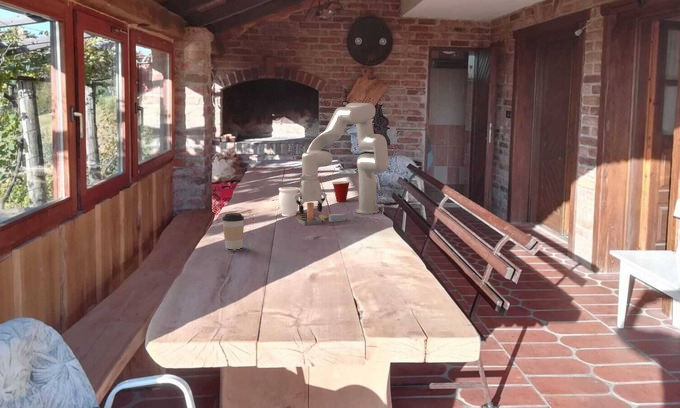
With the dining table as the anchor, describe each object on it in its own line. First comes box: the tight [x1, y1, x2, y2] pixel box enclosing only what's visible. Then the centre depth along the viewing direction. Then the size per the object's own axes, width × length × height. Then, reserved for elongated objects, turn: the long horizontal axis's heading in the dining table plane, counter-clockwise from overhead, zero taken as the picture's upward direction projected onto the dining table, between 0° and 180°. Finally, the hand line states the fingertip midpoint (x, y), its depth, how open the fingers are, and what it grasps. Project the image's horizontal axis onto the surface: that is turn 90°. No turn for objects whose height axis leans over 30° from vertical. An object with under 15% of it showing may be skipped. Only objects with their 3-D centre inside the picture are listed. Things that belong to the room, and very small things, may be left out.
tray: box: [296, 216, 325, 226], centre depth 333 cm, size 10×9×2 cm
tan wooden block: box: [318, 213, 333, 222], centre depth 343 cm, size 8×8×3 cm
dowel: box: [306, 201, 315, 222], centre depth 333 cm, size 3×3×10 cm
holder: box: [295, 213, 307, 221], centre depth 342 cm, size 8×8×3 cm
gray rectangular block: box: [328, 213, 347, 223], centre depth 338 cm, size 8×3×4 cm, turn 117°
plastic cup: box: [331, 180, 351, 203], centre depth 398 cm, size 11×11×12 cm
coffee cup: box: [222, 212, 245, 250], centre depth 284 cm, size 9×9×15 cm
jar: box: [278, 186, 300, 217], centre depth 353 cm, size 11×10×15 cm
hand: (310, 212), depth 333 cm, fingers open, 9 cm apart
